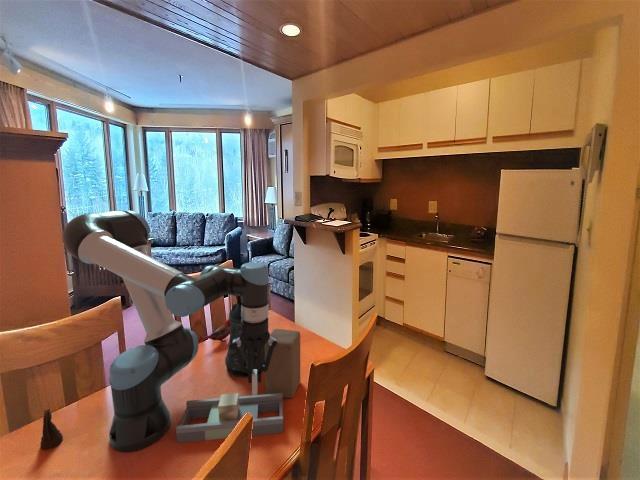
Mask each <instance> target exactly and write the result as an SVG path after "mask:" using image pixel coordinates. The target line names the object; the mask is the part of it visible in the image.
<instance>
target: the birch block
mask: <svg viewBox="0 0 640 480" xmlns="http://www.w3.org/2000/svg"><path fill="white" fill-rule="evenodd" d="M219 398H220V401H219V405H218V411H219V422H221V421H232V420H237V417H238V411H239V393H238V392H235V393H223V394H220V397H219Z"/></svg>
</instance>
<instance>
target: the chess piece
mask: <svg viewBox="0 0 640 480" xmlns="http://www.w3.org/2000/svg"><path fill="white" fill-rule="evenodd" d="M42 424H43V425H42V436H41V438H40V439H41V441H40V449H41V450H43V451H48V450H51V449H54V448H56V447H58V446H59V445H60V444H61V443H62V442H63V439H64V437H63V434H62V432H61V431H60V429H58V428H57V426H56V424H54V422H52V413H51V409H50V407H49V408H48V409H45V410H44V413H43V420H42Z"/></svg>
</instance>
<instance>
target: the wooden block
mask: <svg viewBox="0 0 640 480" xmlns="http://www.w3.org/2000/svg"><path fill="white" fill-rule="evenodd" d="M270 336H271V337H273V338H274V337H276V338H277V345H276V346H275V348H274V349H273V352H272V356H271V360H270V363H269V367H268V370H267V371H266V372H265V371H264V375H265V376H264V377H265V378H264V379H265V394H276V393H282V398H286V399H293V398H294V397H295V394H296V392H297V390H298V388H299V384H301V383H300V382H301V332H300V331H299V330H293V329H292V330H291V329H283V328H273V330H272V331H271V332H270ZM268 348H269V340H268V341H267V343H266V344H265V358H266V355H267V351H268Z"/></svg>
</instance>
